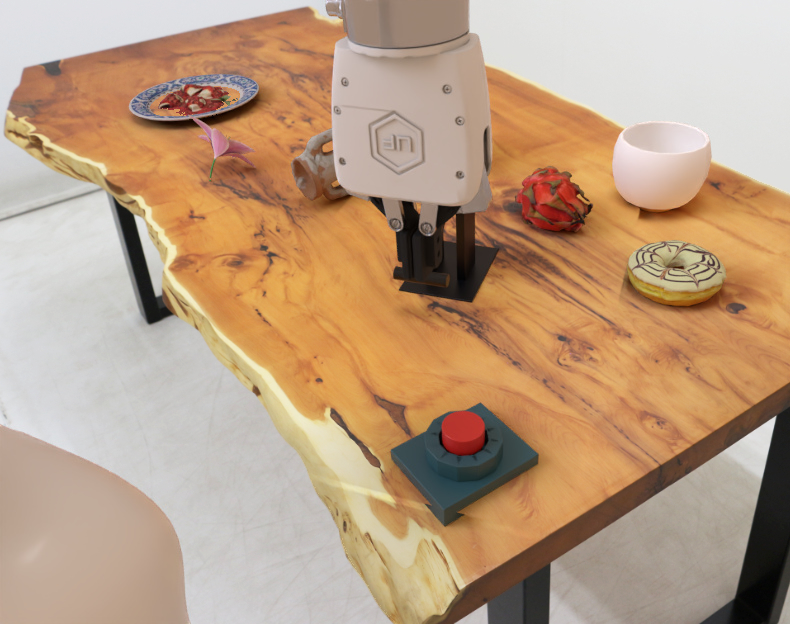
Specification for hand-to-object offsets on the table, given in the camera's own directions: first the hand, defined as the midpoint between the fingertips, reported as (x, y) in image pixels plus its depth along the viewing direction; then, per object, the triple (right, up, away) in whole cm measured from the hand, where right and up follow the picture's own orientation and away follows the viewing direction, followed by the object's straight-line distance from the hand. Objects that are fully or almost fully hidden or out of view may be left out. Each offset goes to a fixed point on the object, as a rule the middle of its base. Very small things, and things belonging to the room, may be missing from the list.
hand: (420, 270), depth 54 cm
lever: (+3, +5, +26) cm, 27 cm away
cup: (+34, +12, +45) cm, 58 cm away
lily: (-29, +20, +64) cm, 73 cm away
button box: (+4, -17, +9) cm, 20 cm away
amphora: (-3, +18, +57) cm, 60 cm away
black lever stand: (+5, +1, +34) cm, 34 cm away
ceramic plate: (-42, +39, +91) cm, 107 cm away
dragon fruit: (+19, +8, +42) cm, 47 cm away
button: (+4, -14, +7) cm, 16 cm away
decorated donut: (+30, 0, +29) cm, 42 cm away
